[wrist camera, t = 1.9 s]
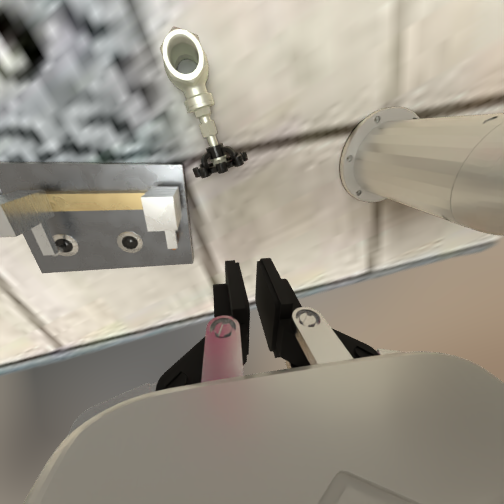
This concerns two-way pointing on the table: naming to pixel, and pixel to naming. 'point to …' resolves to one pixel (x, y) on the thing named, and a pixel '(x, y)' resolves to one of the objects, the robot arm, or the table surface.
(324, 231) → the table surface
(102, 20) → the table surface
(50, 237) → the bolt plate
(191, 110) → the valve
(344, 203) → the table surface
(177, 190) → the block
